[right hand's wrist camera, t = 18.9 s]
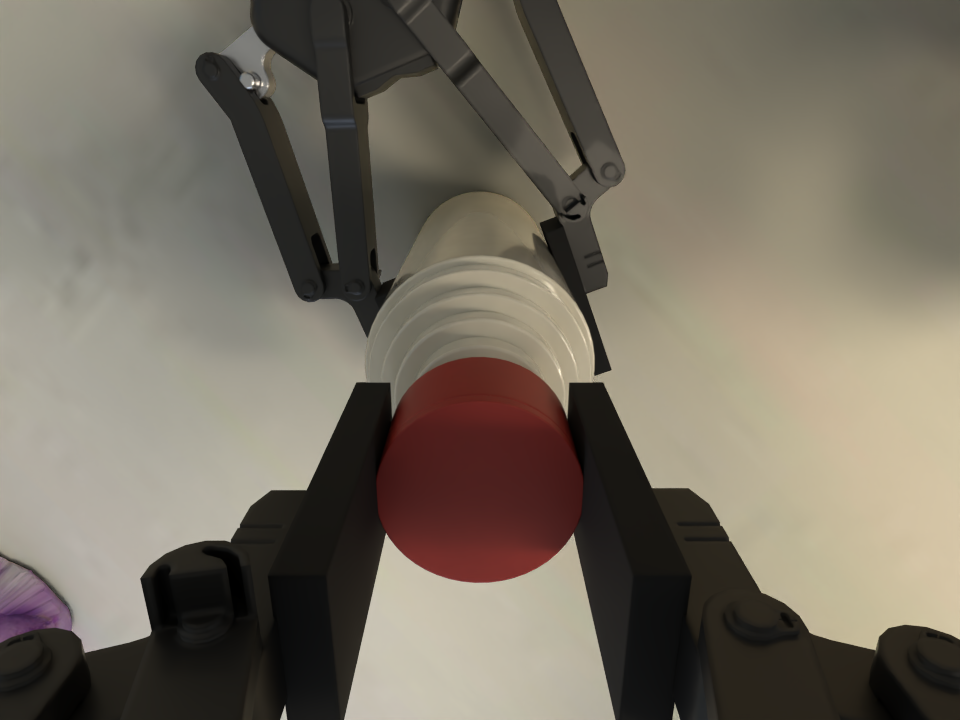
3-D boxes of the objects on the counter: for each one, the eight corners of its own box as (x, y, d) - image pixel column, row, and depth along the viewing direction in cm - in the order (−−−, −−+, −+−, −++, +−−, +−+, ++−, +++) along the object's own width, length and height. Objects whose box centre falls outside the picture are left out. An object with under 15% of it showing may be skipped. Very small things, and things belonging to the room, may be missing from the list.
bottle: (548, 310, 35) (651, 599, 14) (426, 324, 36) (347, 628, 14) (537, 183, 33) (641, 303, 12) (407, 199, 33) (279, 344, 12)
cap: (417, 332, 14) (405, 375, 12) (595, 385, 14) (617, 435, 12) (371, 489, 15) (351, 554, 13) (534, 534, 16) (543, 604, 14)
